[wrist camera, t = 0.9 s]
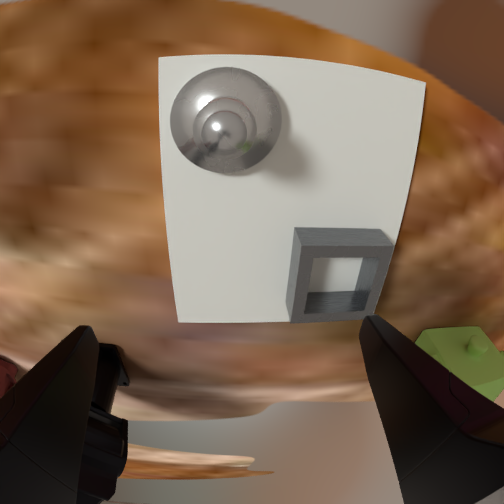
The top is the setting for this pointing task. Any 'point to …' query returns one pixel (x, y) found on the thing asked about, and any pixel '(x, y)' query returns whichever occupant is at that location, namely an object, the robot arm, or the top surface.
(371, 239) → the square frame
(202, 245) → the mat
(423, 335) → the green pegged block
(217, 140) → the silver domed knob
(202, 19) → the top surface
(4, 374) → the mechanical component
